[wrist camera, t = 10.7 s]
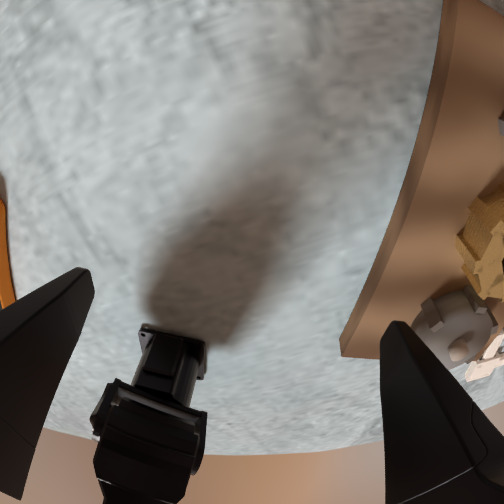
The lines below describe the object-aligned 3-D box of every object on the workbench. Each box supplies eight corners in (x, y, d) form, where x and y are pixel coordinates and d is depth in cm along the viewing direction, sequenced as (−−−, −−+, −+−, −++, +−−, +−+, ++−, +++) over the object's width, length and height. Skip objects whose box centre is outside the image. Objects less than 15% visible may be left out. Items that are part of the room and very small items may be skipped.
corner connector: (532, 315, 24) (538, 325, 23) (509, 358, 28) (513, 367, 27) (484, 329, 25) (489, 339, 24) (463, 371, 30) (466, 382, 28)
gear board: (470, 347, 26) (486, 387, 22) (339, 338, 26) (345, 391, 22) (584, 97, 10) (627, 117, 6) (443, -6, 10) (493, -19, 6)
